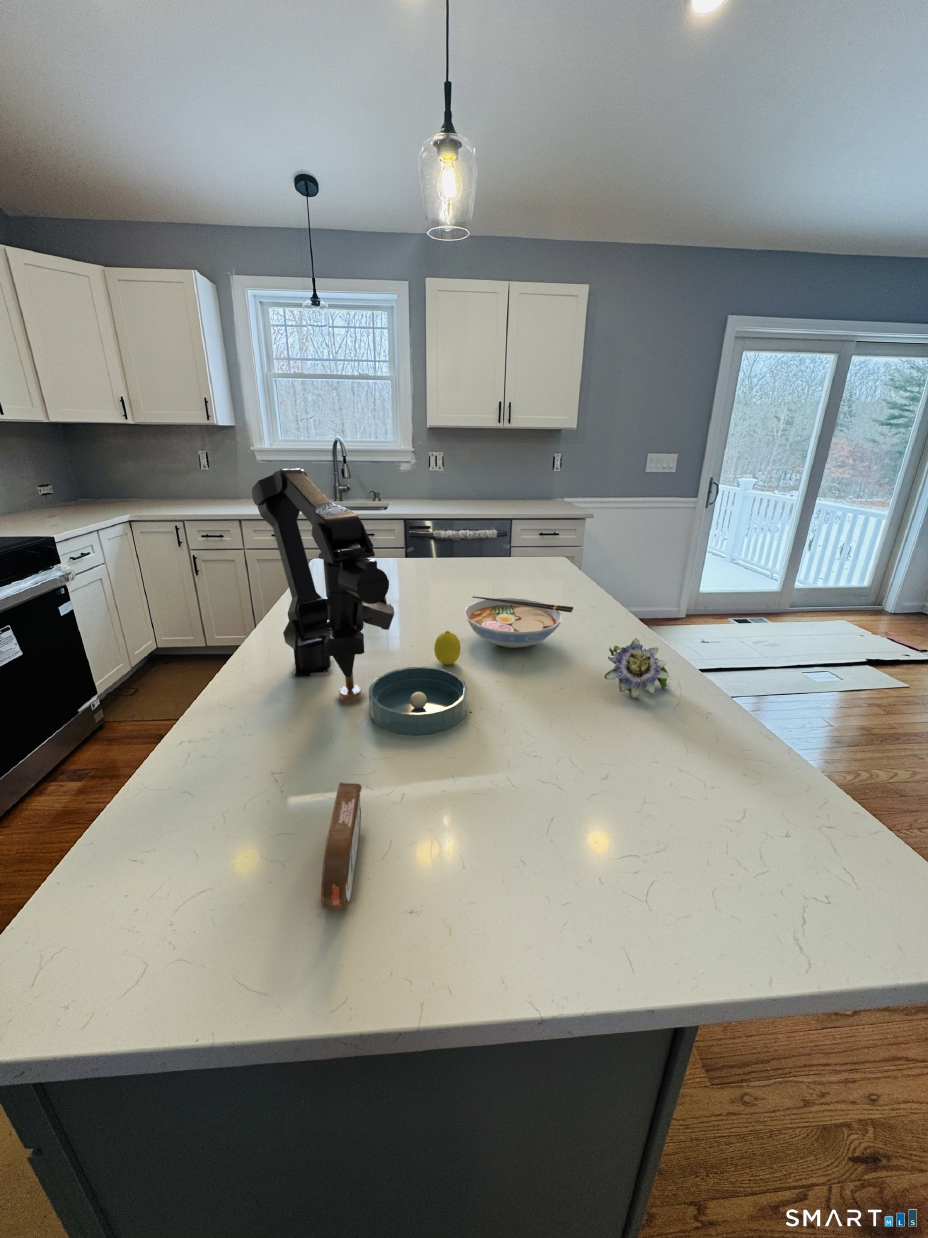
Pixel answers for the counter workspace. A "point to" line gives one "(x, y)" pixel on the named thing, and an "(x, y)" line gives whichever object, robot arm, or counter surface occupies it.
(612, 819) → the counter surface
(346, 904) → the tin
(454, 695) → the bowl
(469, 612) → the ramen bowl
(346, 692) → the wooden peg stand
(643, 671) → the passion flower
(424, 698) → the dough ball
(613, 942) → the counter surface
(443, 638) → the lemon
